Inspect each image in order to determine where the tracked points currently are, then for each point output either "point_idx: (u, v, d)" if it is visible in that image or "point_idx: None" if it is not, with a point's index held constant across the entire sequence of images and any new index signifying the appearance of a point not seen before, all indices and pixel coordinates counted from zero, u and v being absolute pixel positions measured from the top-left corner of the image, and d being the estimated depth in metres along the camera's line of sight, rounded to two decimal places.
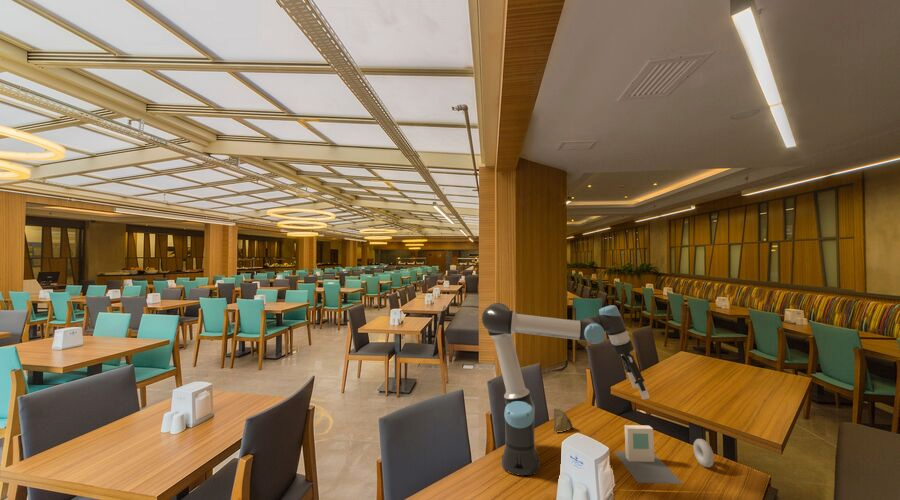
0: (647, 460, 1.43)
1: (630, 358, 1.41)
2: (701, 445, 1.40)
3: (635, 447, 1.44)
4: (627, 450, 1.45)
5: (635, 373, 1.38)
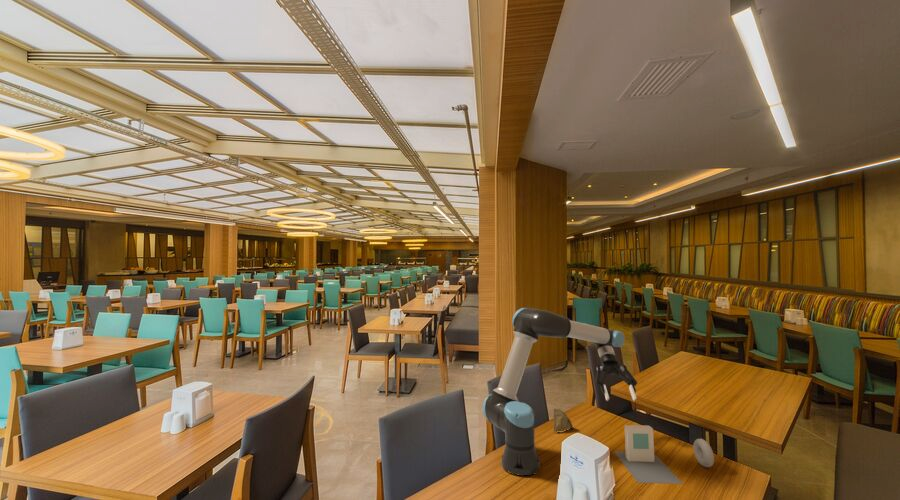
0: (647, 460, 1.43)
1: None
2: (701, 445, 1.40)
3: (635, 447, 1.44)
4: (627, 450, 1.45)
5: None
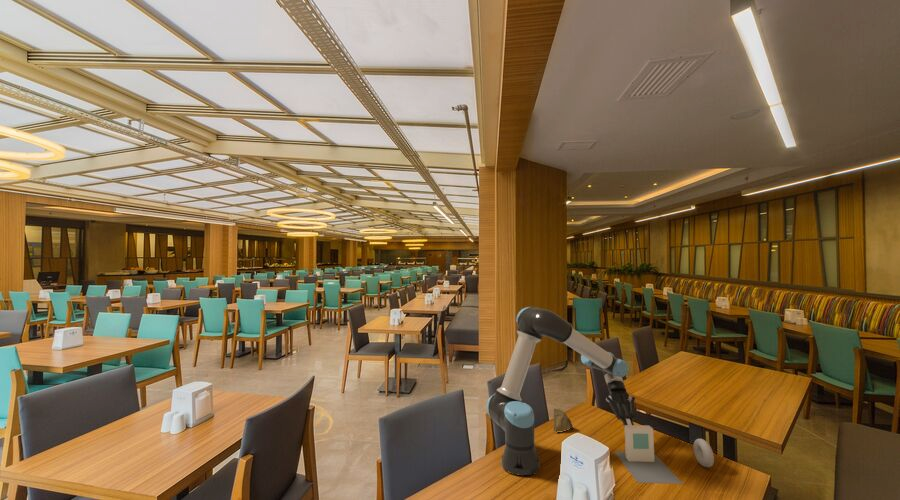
0: (647, 460, 1.43)
1: (634, 399, 1.63)
2: (701, 445, 1.40)
3: (635, 447, 1.44)
4: (627, 450, 1.45)
5: None
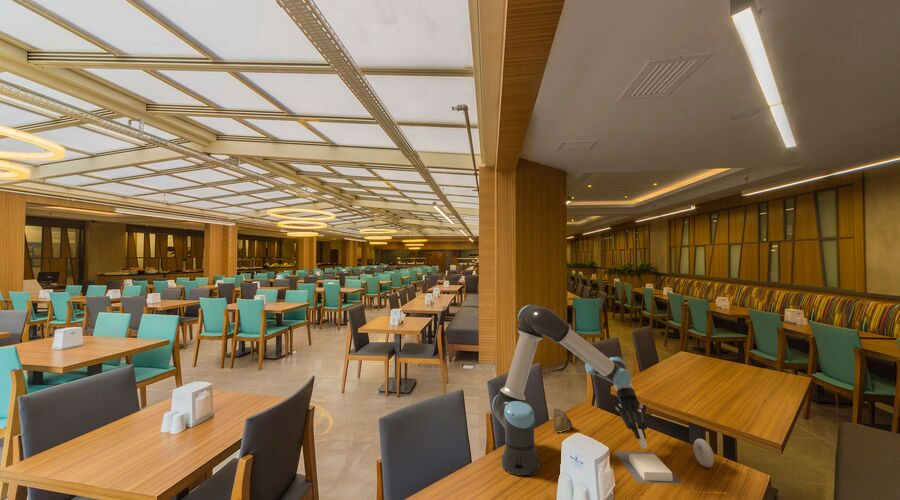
0: None
1: None
2: (701, 445, 1.40)
3: None
4: (633, 464, 1.40)
5: None
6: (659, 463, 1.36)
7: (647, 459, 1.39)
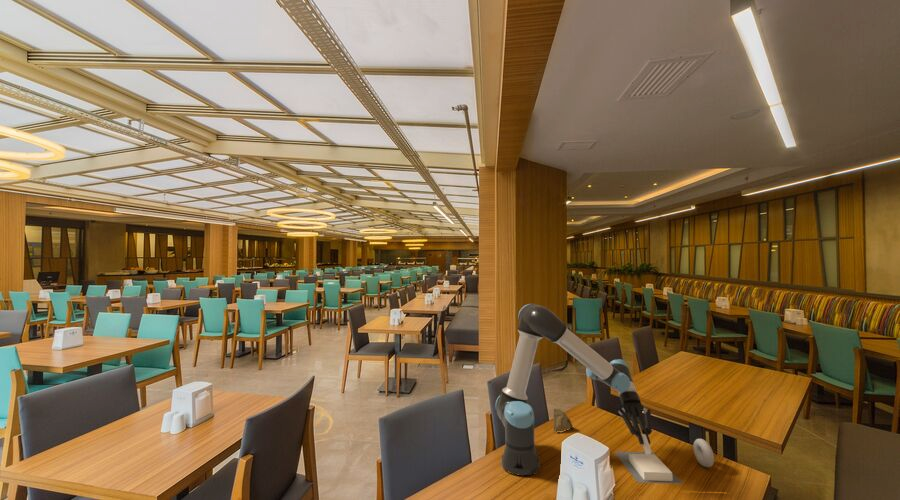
0: None
1: None
2: (701, 445, 1.40)
3: None
4: (633, 464, 1.40)
5: None
6: (659, 463, 1.36)
7: (647, 459, 1.39)
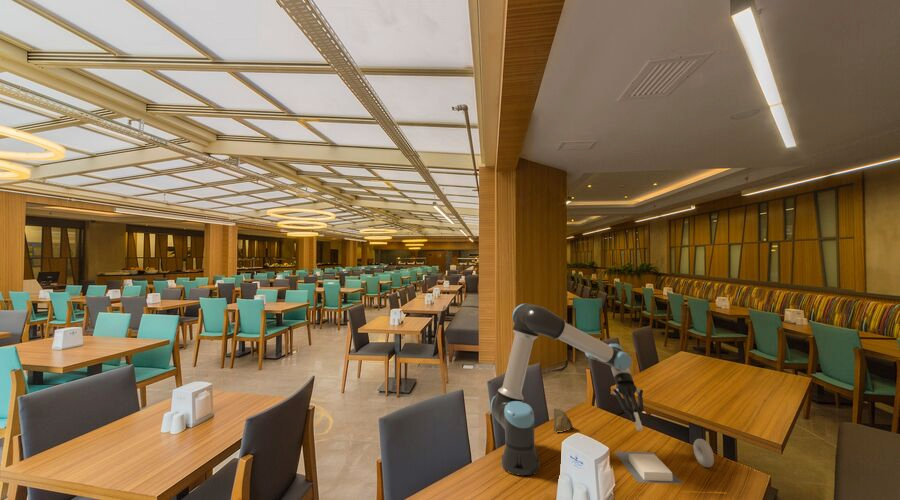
0: None
1: None
2: (701, 445, 1.40)
3: None
4: (633, 464, 1.40)
5: None
6: (659, 463, 1.36)
7: (647, 459, 1.39)
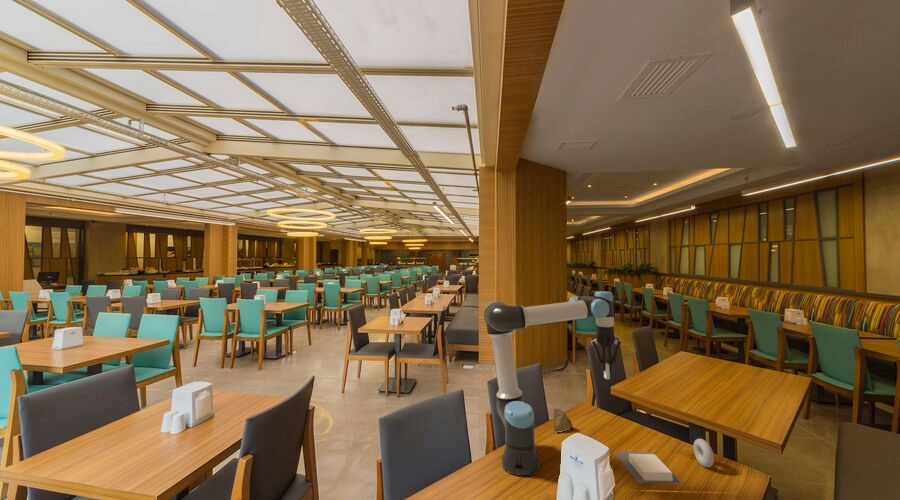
0: None
1: None
2: (701, 445, 1.40)
3: None
4: (633, 464, 1.40)
5: None
6: (659, 463, 1.36)
7: (647, 459, 1.39)
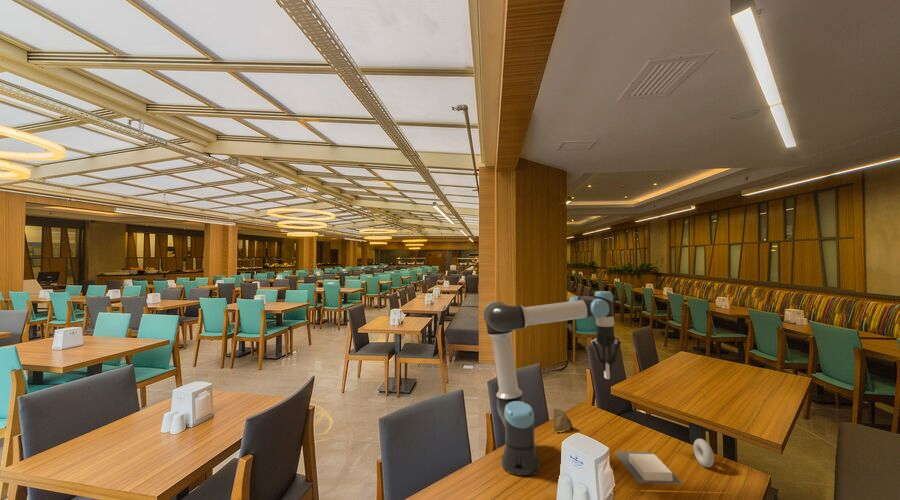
0: None
1: None
2: (701, 445, 1.40)
3: None
4: (633, 464, 1.40)
5: None
6: (659, 463, 1.36)
7: (647, 459, 1.39)
